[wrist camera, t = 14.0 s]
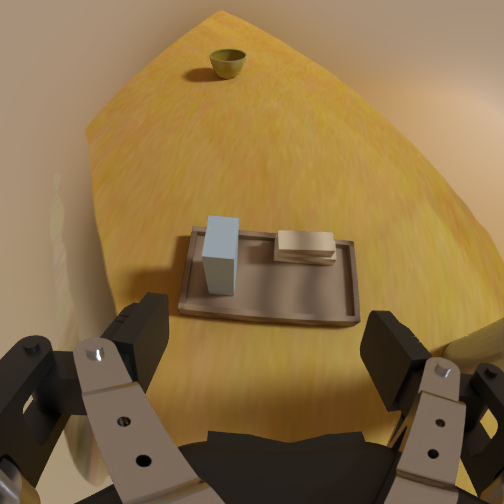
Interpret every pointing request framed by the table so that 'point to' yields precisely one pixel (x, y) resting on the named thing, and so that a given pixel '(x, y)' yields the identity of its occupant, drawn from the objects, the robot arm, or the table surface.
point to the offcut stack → (305, 247)
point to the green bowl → (227, 62)
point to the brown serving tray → (274, 285)
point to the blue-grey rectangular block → (221, 254)
